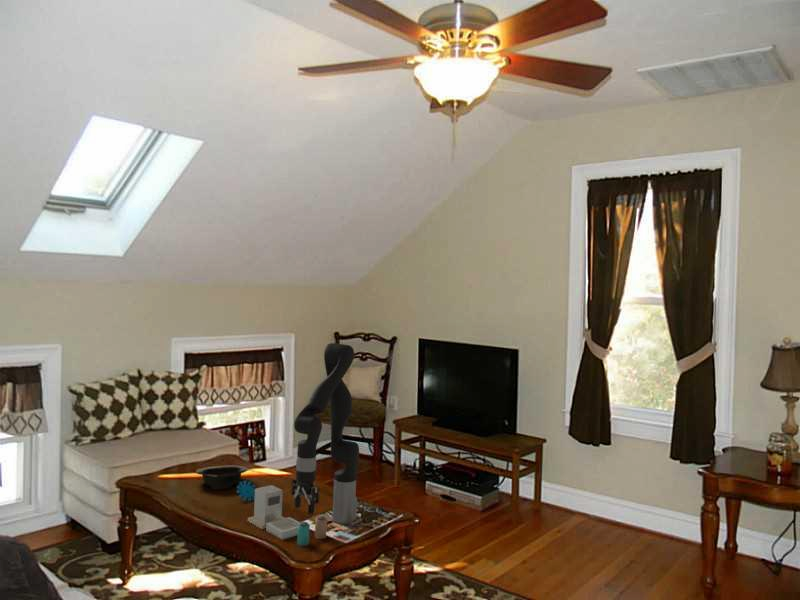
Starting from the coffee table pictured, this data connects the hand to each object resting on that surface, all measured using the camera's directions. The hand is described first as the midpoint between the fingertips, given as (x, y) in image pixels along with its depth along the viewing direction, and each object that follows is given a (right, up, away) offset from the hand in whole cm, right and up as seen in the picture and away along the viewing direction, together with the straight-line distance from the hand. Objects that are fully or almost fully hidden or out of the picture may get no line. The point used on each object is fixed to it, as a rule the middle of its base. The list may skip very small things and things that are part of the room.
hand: (304, 510), depth 249 cm
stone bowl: (-49, -8, +65) cm, 82 cm away
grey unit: (-18, -11, +20) cm, 29 cm away
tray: (-9, -12, +11) cm, 18 cm away
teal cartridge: (-1, -13, +1) cm, 13 cm away
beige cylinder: (+5, -13, +8) cm, 16 cm away
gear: (-32, -10, +46) cm, 57 cm away
